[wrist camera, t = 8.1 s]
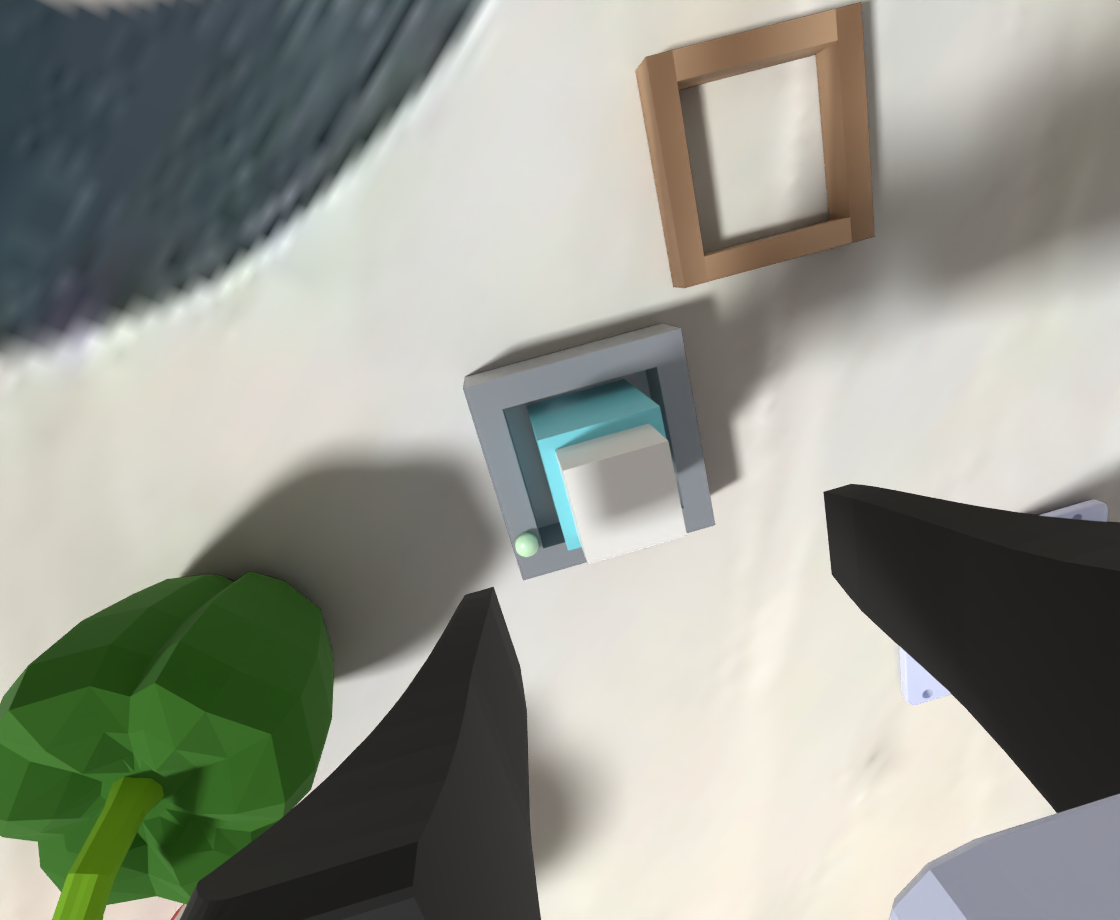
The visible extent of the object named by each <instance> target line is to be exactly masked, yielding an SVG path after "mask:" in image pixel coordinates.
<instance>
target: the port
mask: <svg viewBox="0 0 1120 920" xmlns="http://www.w3.org/2000/svg"><path fill="white" fill-rule="evenodd" d="M621 379H625V380H626V381H628V382H629V383H630V384H632V385H633V386H634V387H635V388H637V389H638V390H639V391H641V392H642V393H643V394H645V395H646V396H647V397H648V398H650V399H651V400H652V401H654V402H655V403H656V404H658V405H659V406H660V409H661V414H662V419H663V424H664V430H665V435H666V439H667V440H668V442H669V447H670V452H671V457H672V462H673V467H674V473H675V478H676V483H677V488H678V493H679V498H680V503H681V508H682V513H683V518H684V523H685V528H686V533H689V532H693V531H696V530H700V529H703V528H707V527H710V526H714V525H715V521H714V515H713V509H712V503H711V498H710V492H709V486H708V480H707V475H706V469H705V463H704V457H703V452H702V446H701V440H700V435H699V429H698V423H697V417H696V412H695V406H694V400H693V394H692V389H691V383H690V377H689V371H688V366H687V360H686V354H685V348H684V343H683V337H682V331H681V328H678V327H675V326H671V325H668V324H664V323H661V324H657V325H654V326H650V327H646V328H643V329H639V330H635V331H632V332H628V333H624V334H621V335H617V336H613V337H610V338H606V339H602V340H599V341H595V342H591V343H588V344H584V345H580V346H577V347H573V348H569V349H566V350H562V351H558V352H555V353H551V354H547V355H544V356H540V357H536V358H533V359H529V360H525V361H522V362H518V363H514V364H511V365H507V366H503V367H500V368H496V369H492V370H489V371H485V372H481V373H478V374H474V375H470V376H467V377H465V379H464V385H463V390H464V393H465V396H466V399H467V403H468V406H469V409H470V412H471V415H472V419H473V422H474V425H475V428H476V431H477V435H478V438H479V441H480V444H481V447H482V450H483V454H484V457H485V460H486V463H487V466H488V470H489V473H490V476H491V479H492V482H493V486H494V489H495V492H496V495H497V498H498V502H499V505H500V508H501V511H502V514H503V517H504V521H505V524H506V527H507V530H508V533H509V537H510V540H511V543H512V546H513V549H514V553H515V556H516V559H517V562H518V565H519V569H520V572H521V575H522V578H523V580H526V579H530V578H533V577H537V576H540V575H544V574H547V573H551V572H554V571H558V570H561V569H565V568H568V567H571V566H575V565H578V564H582V563H585V562H587V560H586V558H585V555H584V552H583V549H582V547H580V548H576V549H573V550H569V551H568V549H567V546H566V542H565V539H564V536H563V532H562V529H561V526H560V522H559V519H558V516H557V512H556V509H555V506H554V502H553V499H552V496H551V492H550V488H549V485H548V481H547V478H546V474H545V471H544V467H543V463H542V460H541V456H540V453H539V449H538V446H537V442H536V438H535V435H534V431H533V428H532V424H531V421H530V417H529V413H528V410H527V406H528V405H532V404H535V403H539V402H543V401H546V400H550V399H553V398H557V397H560V396H564V395H568V394H571V393H575V392H578V391H582V390H586V389H589V388H593V387H596V386H600V385H604V384H607V383H611V382H614V381H618V380H621Z"/></svg>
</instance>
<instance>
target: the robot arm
mask: <svg viewBox="0 0 1120 920" xmlns="http://www.w3.org/2000/svg"><path fill="white" fill-rule="evenodd" d="M824 501H825V511H826V521H827V531H828V541H829V551H830V561H831V571H832V575H833V576H834V578H835V579H836V580H837V582H838V583H839V584H840V585H841V587H842V588H843V589H844V590H845V592H846V593H847V594H848V595H849V597H850V598H851V599H852V600H853V601H854V602H855V604H856V605H857V606H858V607H859V608H860V609H861V611H862V612H863V613H864V614H866V615H867V616H868V617H869V618H870V619H871V620H872V621H873V622H874V623H875V624H876V625H877V626H878V627H879V628H880V629H881V630H883V631H884V632H885V633H886V634H887V635H888V636H889V637H890V638H891V639H892V640H893V641H894V642H895V643H897V644H898V645H899V648H900V665H901V683H902V696H903V698H904V699H905V700H906V701H907V702H908V703H909V704H911V705H917V704H921V703H924V702H927V701H931V700H934V699H937V698H940V697H944V696H947V695H950V694H952V695H953V696H954V697H955V698H956V699H957V700H958V701H959V702H960V703H961V704H962V705H963V706H964V707H965V708H966V709H967V710H968V711H969V712H970V713H971V714H972V716H973V717H974V718H975V719H976V720H977V721H978V722H979V723H980V724H981V726H982V727H983V728H984V729H985V730H986V731H987V732H988V733H989V734H990V735H991V737H992V738H993V739H994V740H995V741H996V742H997V743H998V744H999V745H1000V747H1001V748H1002V749H1003V750H1004V751H1005V752H1006V753H1007V754H1008V756H1009V757H1010V758H1011V759H1012V760H1013V761H1014V763H1015V764H1016V765H1017V766H1018V767H1019V769H1020V770H1021V771H1022V772H1023V773H1024V774H1025V776H1026V777H1027V778H1028V779H1029V780H1030V781H1031V783H1032V784H1033V785H1034V786H1035V787H1036V788H1037V790H1038V791H1039V792H1040V793H1041V794H1042V796H1043V797H1044V798H1045V799H1046V800H1047V801H1048V803H1049V804H1050V805H1051V806H1052V807H1053V809H1054V810H1055V811H1056V812H1057V814H1054V815H1050V816H1047V817H1044V818H1041V819H1038V820H1035V821H1031V822H1028V823H1025V824H1022V825H1019V826H1015V827H1012V828H1009V829H1006V830H1003V831H1000V832H996V833H993V834H990V835H987V836H984V837H981V838H977V839H974V840H972V841H970V842H968V843H966V844H964V845H962V846H961V847H959V848H957V849H955V850H953V851H951V852H949V853H947V854H945V855H943V856H941V857H939V858H937V859H935V860H933V861H931V862H929V863H927V864H926V865H925V867H924V868H923V869H922V870H921V871H920V872H919V873H918V874H917V875H916V876H915V877H914V878H913V879H912V880H911V882H910V883H909V884H908V885H907V886H906V887H905V888H904V889H903V890H902V891H901V892H900V893H899V894H898V895H897V897H896V898H895V899H894V902H893V906H892V910H891V913H890V917H889V920H1120V523H1118V522H1107V517H1108V506H1107V505H1106V503H1103V502H1101V501H1098V500H1095V499H1094V500H1089V501H1085V502H1082V503H1078V504H1075V505H1072V506H1068V507H1065V508H1061V509H1058V510H1055V511H1051V512H1048V513H1044V514H1041V515H1032V514H1025V513H1018V512H1011V511H1005V510H998V509H992V508H985V507H980V506H974V505H968V504H963V503H957V502H952V501H947V500H942V499H936V498H931V497H926V496H921V495H916V494H911V493H906V492H901V491H896V490H890V489H885V488H879V487H873V486H866V485H857V484H849V485H846V486H843V487H839V488H836V489H832V490H829V491H825V492H824ZM180 920H541V916H540V909H539V901H538V893H537V885H536V877H535V868H534V860H533V852H532V844H531V830H530V815H529V774H528V736H527V709H526V702H525V695H524V688H523V682H522V675H521V669H520V664H519V661H518V658H517V655H516V652H515V649H514V646H513V644H512V641H511V638H510V635H509V632H508V629H507V626H506V623H505V620H504V617H503V614H502V611H501V608H500V605H499V602H498V599H497V596H496V593H495V590H494V587H491V588H488V589H484V590H481V591H477V592H474V593H470V594H467V595H465V596H464V598H463V599H462V601H461V603H460V604H459V606H458V608H457V609H456V611H455V613H454V615H453V616H452V618H451V620H450V622H449V623H448V625H447V627H446V629H445V630H444V632H443V634H442V636H441V637H440V639H439V641H438V642H437V644H436V646H435V647H434V649H433V651H432V652H431V654H430V655H429V657H428V659H427V660H426V662H425V663H424V665H423V666H422V668H421V669H420V671H419V672H418V673H417V675H416V676H415V678H414V679H413V681H412V682H411V684H410V685H409V687H408V688H407V689H406V691H405V692H404V693H403V695H402V696H401V697H400V699H399V700H398V701H397V703H396V704H395V705H394V706H393V708H392V709H391V710H390V711H389V713H388V714H387V715H386V716H385V717H384V718H383V720H382V721H381V722H380V723H379V724H378V726H377V727H376V728H375V729H374V730H373V731H372V732H371V734H370V735H369V736H368V737H367V738H366V739H365V740H364V741H363V742H362V743H361V744H360V745H359V746H358V747H357V748H356V749H355V750H354V751H353V752H352V753H351V754H350V755H349V756H348V757H347V758H346V759H345V760H344V761H343V762H342V764H341V765H340V766H339V767H338V768H337V769H336V770H335V771H334V772H333V773H332V774H331V775H330V776H329V777H328V778H326V779H325V780H324V781H323V782H322V783H321V784H320V785H319V786H318V787H317V788H316V789H314V790H313V791H312V792H311V793H310V794H309V795H308V796H307V797H306V798H305V799H303V800H302V801H301V802H300V803H299V804H298V805H296V806H295V807H294V808H293V809H292V810H290V811H289V812H288V813H287V814H286V815H285V816H283V817H282V818H281V819H280V820H279V821H277V822H276V823H275V824H274V825H273V826H271V827H270V828H269V829H268V830H266V831H265V832H264V833H263V834H261V835H260V836H259V837H257V838H256V839H255V840H253V841H252V842H251V843H249V844H248V845H247V846H245V847H244V848H243V849H241V850H240V851H239V852H237V853H236V854H235V855H234V856H232V857H231V858H230V859H228V860H227V861H226V862H224V863H223V864H222V865H220V866H219V867H218V868H216V869H215V870H214V871H212V872H211V873H209V874H208V875H207V876H205V877H204V878H202V879H201V880H200V881H198V883H197V885H196V887H195V889H194V891H193V893H192V895H191V897H190V899H189V901H188V903H187V905H186V908H185V910H184V912H183V914H182V916H181V918H180Z"/></svg>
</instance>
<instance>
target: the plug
mask: <svg viewBox="0 0 1120 920" xmlns="http://www.w3.org/2000/svg"><path fill="white" fill-rule="evenodd" d="M527 410H528V413H529V417H530V421H531V424H532V428H533V431H534V435H535V438H536V442H537V446H538V449H539V453H540V456H541V460H542V463H543V467H544V471H545V474H546V478H547V481H548V485H549V488H550V492H551V496H552V499H553V502H554V506H555V509H556V512H557V516H558V519H559V522H560V526H561V529H562V532H563V536H564V539H565V542H566V546H567V549H568V551H569V550H573V549H576V548H580V547H582V549H583V552H584V555H585V558H586V560H587V563H588V565H589V564H592V563H596V562H599V561H603V560H606V559H609V558H613V557H616V556H620V555H623V554H627V553H630V552H634V551H637V550H640V549H644V548H647V547H651V546H654V545H658V544H661V543H665V542H668V541H671V540H675V539H678V538H682V537H685V536H687V533H686V528H685V523H684V518H683V513H682V508H681V503H680V498H679V493H678V488H677V483H676V478H675V473H674V467H673V462H672V457H671V452H670V447H669V442H668V440H667V439H666V435H665V430H664V424H663V419H662V414H661V409H660V406H659V405H658V404H656V403H655V402H654V401H652V400H651V399H650V398H648V397H647V396H646V395H645V394H643V393H642V392H641V391H639V390H638V389H637V388H635V387H634V386H633V385H632V384H630V383H629V382H628V381H626V380H625V379H621V380H618V381H614V382H611V383H607V384H604V385H600V386H596V387H593V388H589V389H586V390H582V391H578V392H575V393H571V394H568V395H564V396H560V397H557V398H553V399H550V400H546V401H543V402H539V403H535V404H532V405H528V406H527Z"/></svg>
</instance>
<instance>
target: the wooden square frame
mask: <svg viewBox="0 0 1120 920" xmlns="http://www.w3.org/2000/svg"><path fill="white" fill-rule="evenodd" d="M812 55H816V65H817V77H818V89H819V102H820V114H821V126H822V138H823V150H824V163H825V175H826V187H827V199H828V211H829V221H825V222H821V223H818V224H814V225H810V226H806V227H803V228H799V229H795V230H792V231H788V232H784V233H780V234H777V235H773V236H769V237H766V238H762V239H758V240H754V241H751V242H747V243H743V244H740V245H736V246H732V247H728V248H725V249H721V250H717V251H714V252H710V253H706V254H704V252H703V246H702V239H701V233H700V226H699V220H698V213H697V207H696V200H695V194H694V187H693V181H692V174H691V168H690V161H689V155H688V148H687V142H686V135H685V129H684V122H683V116H682V109H681V103H680V96H679V90H680V89H684V88H688V87H692V86H696V85H700V84H703V83H707V82H711V81H715V80H719V79H723V78H727V77H731V76H735V75H738V74H742V73H746V72H750V71H754V70H758V69H762V68H766V67H770V66H774V65H777V64H781V63H785V62H789V61H793V60H797V59H801V58H805V57H809V56H812ZM636 76H637V82H638V87H639V93H640V99H641V105H642V110H643V116H644V122H645V128H646V133H647V139H648V145H649V150H650V156H651V162H652V168H653V173H654V179H655V185H656V191H657V196H658V202H659V208H660V213H661V219H662V225H663V231H664V236H665V242H666V248H667V254H668V259H669V265H670V271H671V277H672V282H673V287H679V288H687V287H690V286H694V285H698V284H701V283H705V282H709V281H713V280H716V279H720V278H724V277H727V276H731V275H735V274H738V273H742V272H746V271H749V270H753V269H757V268H761V267H764V266H768V265H772V264H775V263H779V262H783V261H786V260H790V259H794V258H797V257H801V256H805V255H808V254H812V253H816V252H820V251H823V250H827V249H831V248H834V247H838V246H842V245H845V244H849V243H853V242H856V241H860V240H864V239H868V238H871V237H875V234H874V216H873V199H872V181H871V164H870V146H869V129H868V112H867V94H866V77H865V59H864V42H863V25H862V7H861V2H860V3H856V4H852V5H848V6H844V7H840V8H836V9H832V10H828V11H824V12H820V13H817V14H813V15H809V16H805V17H801V18H797V19H793V20H789V21H785V22H781V23H777V24H773V25H769V26H765V27H761V28H757V29H754V30H750V31H746V32H742V33H738V34H734V35H730V36H726V37H722V38H718V39H714V40H710V41H706V42H702V43H698V44H694V45H690V46H687V47H683V48H679V49H675V50H671V51H667V52H663V53H659V54H655V55H651V56H647V57H645V59H644V60H643V61H642V63H641V64H640V65H639V67H638V68H637V69H636Z"/></svg>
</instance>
